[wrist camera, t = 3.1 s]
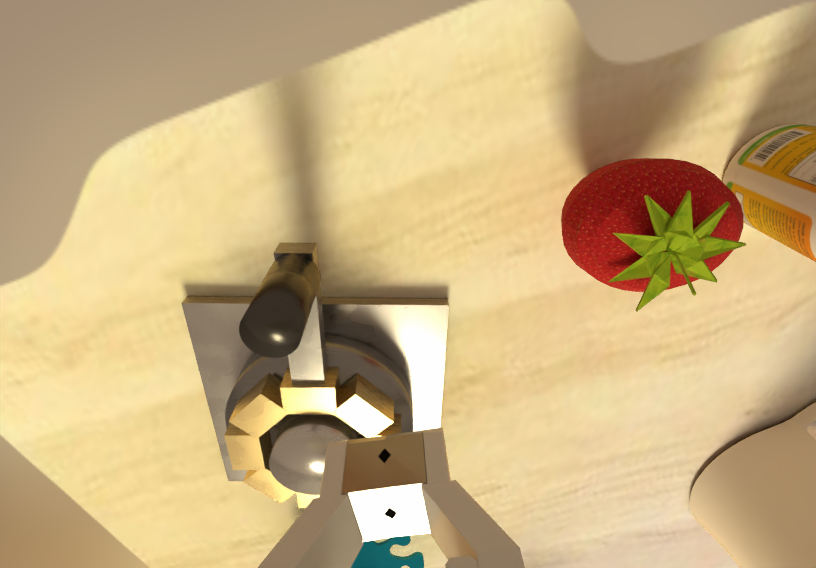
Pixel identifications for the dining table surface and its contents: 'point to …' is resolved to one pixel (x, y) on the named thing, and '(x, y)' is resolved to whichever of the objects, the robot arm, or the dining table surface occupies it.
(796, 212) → the supplement bottle
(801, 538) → the robot arm
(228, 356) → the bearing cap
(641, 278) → the strawberry
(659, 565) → the dining table surface
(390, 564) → the teal virus model
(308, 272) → the ring nut
